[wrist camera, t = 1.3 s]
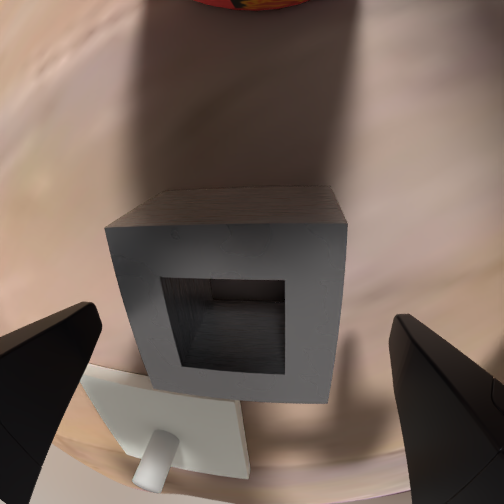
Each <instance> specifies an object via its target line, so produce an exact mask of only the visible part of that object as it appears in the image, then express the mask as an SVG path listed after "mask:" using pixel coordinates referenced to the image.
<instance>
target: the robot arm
mask: <svg viewBox="0 0 504 504" xmlns="http://www.w3.org/2000/svg"><path fill="white" fill-rule="evenodd" d="M101 331H102V322H101V319H100V317H99V314H98V311H97V308H96V306H95V304H94V303H92V302H81V303H78V304H76V305H73V306H71V307H69V308H66V309H64V310H62V311H59V312H57V313H55V314H52V315H50V316H48V317H45V318H43V319H41V320H38V321H36V322H34V323H31V324H29V325H27V326H25V327H22V328H20V329H18V330H15V331H13V332H11V333H9V334H6V335H4V336H2V337H0V499H1V500H2V501H3V502H5V503H6V504H29V502H30V499H31V496H32V493H33V490H34V487H35V484H36V482H37V479H38V476H39V474H40V471H41V468H42V467H41V466H42V465H43V463H44V460H45V458H46V455H47V453H48V450H49V448H50V445H51V443H52V441H53V438H54V436H55V434H56V431H57V429H58V427H59V425H60V422H61V420H62V418H63V416H64V413H65V411H66V409H67V407H68V405H69V403H70V401H71V398H72V396H73V394H74V392H75V390H76V388H77V386H78V384H79V382H80V380H81V378H82V376H83V374H84V372H85V370H86V368H87V365H88V363H89V361H90V358H91V355H92V353H93V350H94V348H95V346H96V343H97V341H98V338H99V336H100V333H101ZM389 352H390V359H391V368H392V377H393V387H394V394H395V399H396V404H397V409H398V414H399V419H400V424H401V429H402V435H403V440H404V446H405V452H406V459H407V465H408V472H409V479H410V487H411V496H412V504H504V385H503V384H502V383H501V382H499V381H498V380H497V379H496V378H494V379H493V376H492V375H490V374H489V373H488V372H487V371H485V370H484V369H483V368H481V367H480V366H479V365H477V364H476V363H475V362H474V361H472V360H471V359H470V358H468V357H467V356H466V355H464V354H463V353H462V352H460V351H459V350H458V349H457V348H455V347H454V346H453V345H451V344H450V343H449V342H447V341H446V340H444V339H443V338H442V337H440V336H439V335H438V334H436V333H435V332H434V331H432V330H431V329H430V328H428V327H427V326H426V325H424V324H423V323H421V322H420V321H419V320H417V319H416V318H415V317H413V316H412V315H410V314H397V315H396V316H395V317H394V320H393V324H392V328H391V333H390V337H389Z"/></svg>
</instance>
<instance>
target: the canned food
mask: <svg viewBox="0 0 504 504" xmlns="http://www.w3.org/2000/svg"><path fill="white" fill-rule="evenodd" d="M194 1H197V2H200V3H204V4H207V5H211V6H215V7H221V8H227V9H233V10H251V11H260V10H271V9H280V8H284V7H289V6H294V5H298V4H301V3H304V2H306V1H309V0H194Z"/></svg>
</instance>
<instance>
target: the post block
mask: <svg viewBox="0 0 504 504" xmlns="http://www.w3.org/2000/svg"><path fill="white" fill-rule="evenodd" d="M80 382H81V384H82V386H83V388H84V389H85V391H86V393H87V395H88V396H89V398H90V400H91V401H92V403H93V405H94V406H95V408H96V410H97V411H98V413H99V415H100V416H101V418H102V419H103V421H104V422H105V424H106V425H107V427H108V428H109V430H110V431H111V433H112V434H113V436H114V437H115V439H116V440H117V442H118V443H119V444H120V446H121V447H122V449H123V450H124V451H125V453H126V454H127V455H130V456H133V457H136V458H140V459H141V461H140V463H139V466H138V468H137V470H136V473H135V475H134V477H133V479H132V482H133V483H134V484H135V485H137V486H138V487H140V488H142V489H144V490H147V491H150V492H153V493H161V491H162V488H163V486H164V483H165V480H166V477H167V475H168V472H169V469H170V467H175V468H180V469H185V470H189V471H195V472H200V473H206V474H212V475H218V476H225V477H232V478H241V479H249V474H250V469H251V468H250V462H249V456H248V450H247V443H246V437H245V430H244V424H243V417H242V411H241V404H240V400H231V399H221V398H212V397H204V396H196V395H189V394H182V393H176V392H170V391H164V390H158V389H154V388H153V386H152V384H151V381H150V378H149V376H145V375H139V374H134V373H129V372H124V371H119V370H115V369H110V368H106V367H101V366H97V365H93V364H89V363H88V365H87V368H86V370H85V372H84V374H83V376H82V378H81V380H80Z"/></svg>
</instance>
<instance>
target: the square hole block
mask: <svg viewBox="0 0 504 504" xmlns="http://www.w3.org/2000/svg"><path fill="white" fill-rule="evenodd" d="M347 227H348V223H347V221H346V219H345V216H344V214H343V212H342V210H341V208H340V205H339V203H338V201H337V199H336V197H335V195H334V192H333V190H332V188H331V186H261V187H230V188H208V189H190V190H175V191H163V192H162V193H160V194H158V195H156V196H155V197H153V198H151V199H150V200H148V201H146V202H145V203H143V204H141V205H140V206H138V207H136V208H135V209H133V210H131V211H130V212H128V213H127V214H125V215H123V216H122V217H120V218H119V219H117V220H116V221H114V222H112V223H111V224H109V225H108V226H106V227H105V232H106V237H107V241H108V246H109V250H110V254H111V258H112V262H113V266H114V270H115V274H116V278H117V281H118V285H119V289H120V292H121V296H122V299H123V303H124V306H125V309H126V312H127V316H128V319H129V322H130V325H131V328H132V331H133V334H134V337H135V340H136V343H137V346H138V349H139V352H140V354H141V357H142V360H143V363H144V365H145V368H146V371H147V373H148V376H149V378H150V381H151V384H152V386H153V388H154V389H158V390H164V391H170V392H176V393H182V394H189V395H196V396H204V397H212V398H221V399H231V400H242V401H255V402H272V403H303V404H328V398H329V393H330V387H331V381H332V374H333V368H334V361H335V354H336V347H337V340H338V332H339V323H340V315H341V306H342V296H343V285H344V273H345V260H346V245H347ZM210 279H243V280H285V302H271V301H235V300H213V298H212V291H211V284H210Z"/></svg>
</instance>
